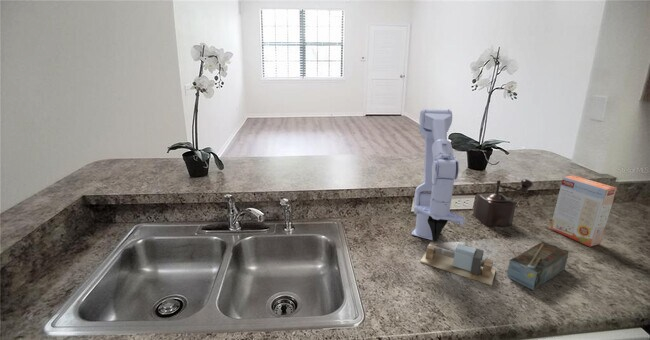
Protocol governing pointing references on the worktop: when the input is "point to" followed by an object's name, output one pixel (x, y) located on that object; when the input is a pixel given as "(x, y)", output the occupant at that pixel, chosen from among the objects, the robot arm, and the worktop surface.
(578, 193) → the cracker box
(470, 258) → the sleeve
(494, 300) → the worktop surface
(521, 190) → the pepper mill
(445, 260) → the pipe stand
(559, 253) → the beverage carton
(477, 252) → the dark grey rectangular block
